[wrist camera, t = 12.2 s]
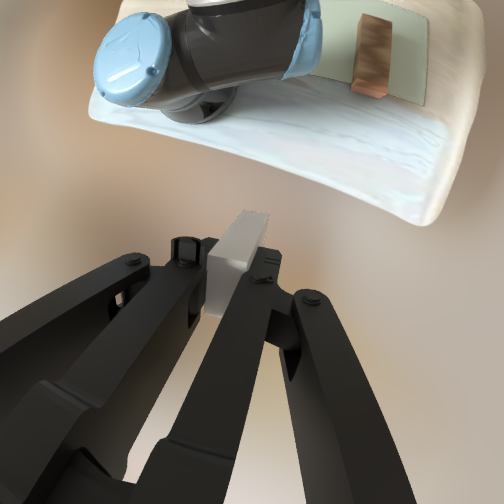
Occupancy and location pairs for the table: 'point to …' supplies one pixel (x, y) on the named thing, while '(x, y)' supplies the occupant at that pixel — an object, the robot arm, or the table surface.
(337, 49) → the mat
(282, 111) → the table surface
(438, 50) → the table surface
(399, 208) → the table surface
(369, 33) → the walnut block
